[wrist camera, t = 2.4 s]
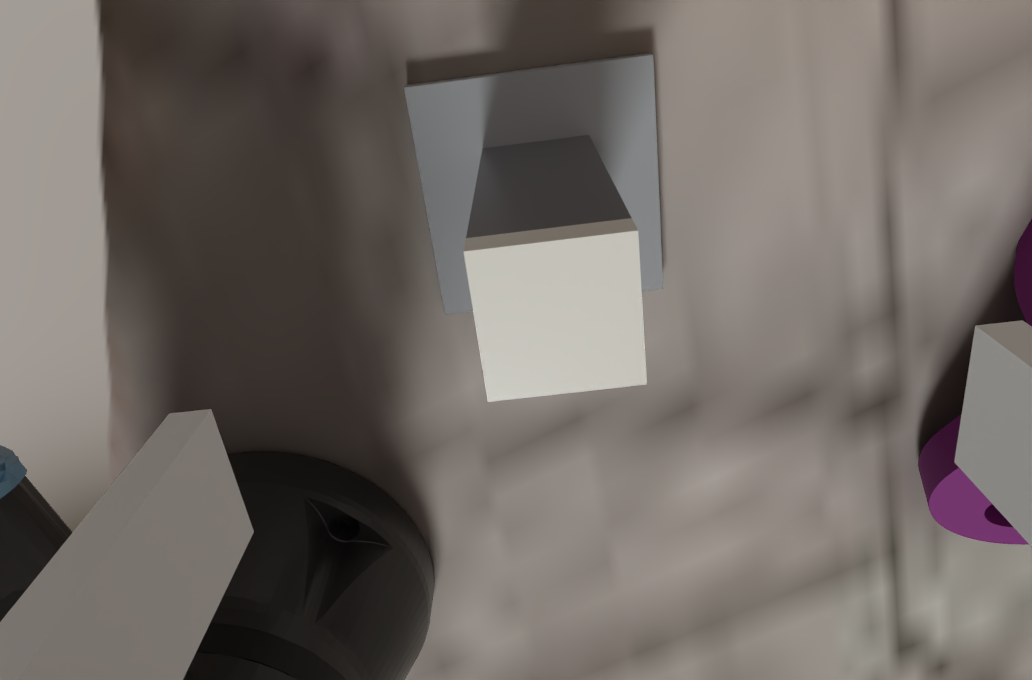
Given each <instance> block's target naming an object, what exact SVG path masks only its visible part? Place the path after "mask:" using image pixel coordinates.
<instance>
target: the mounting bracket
mask: <svg viewBox="0 0 1032 680" xmlns="http://www.w3.org/2000/svg"><path fill="white" fill-rule="evenodd" d="M1014 285H1015V292H1016V296H1017V300H1018V303H1019V305H1020V308H1021V310H1022V313H1023V315H1024V317H1025V320H1026V322H1027V324H1029V325H1030V326H1032V219H1031V221H1030V223H1029V224H1028V226H1027V228H1026V229H1025V231H1024V233H1023V235H1022V236H1021V238H1020V240H1019V243H1018V247H1017V251H1016V257H1015V264H1014ZM961 415H962V414H961ZM961 415H960V416H958V417H957V418H956V419H954V420H953V421H952V422H950V423H949V424H948V425H946V426H945V427H943V428H942V429H941V430H940V431H938V432H937V433H936V434H935V435H934V436H933V437H932V438H931V439H930V440H929V441H928V442H927V443H926V445H925V446H924V447H923V449H922V451H921V453H920V456H919V461H918V467H919V472H920V475H921V479H922V483H923V487H924V491H925V494H926V498H927V502H928V506H929V510H930V512H931V515H932V516H933V518H934V519H935V520H936V521H937V522H938V523H939V524H940V525H941V526H943V527H944V528H946V529H947V530H949V531H951V532H953V533H956V534H958V535H961V536H964V537H968V538H971V539H976V540H980V541H986V542H993V543H1003V544H1028V542H1027V541H1026V540H1025V539H1024V538H1023V537H1022V536H1021V535H1020V534H1019V533H1018V531H1017V530H1016V529H1015V528H1014V527H1013V526H1012V525H1011V524H1010V523H1009V522H1008V521H1007V519H1006V518H1005V517H1004V516H1003V515H1002V514H1001V513H1000V512H999V511H998V510H997V508H996V507H995V506H994V505H993V504H992V503H991V502H990V501H989V500H988V499H987V498H986V496H985V495H984V494H983V493H982V492H981V491H980V490H979V489H978V488H977V487H976V485H975V484H974V483H973V482H972V481H971V480H970V479H969V478H968V477H967V476H966V475H965V473H964V472H963V471H962V470H961V469H960V468H959V467H958V466H957V465H956V464H955V462H954V460H955V454H956V447H957V441H958V434H959V428H960V421H961Z"/></svg>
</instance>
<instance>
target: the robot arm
mask: <svg viewBox="0 0 1032 680" xmlns="http://www.w3.org/2000/svg"><path fill="white" fill-rule="evenodd" d="M954 462H955V464H956V465H957V466H958V467H959V468H960V469H961V470H962V471H963V472H964V473H965V475H966V476H967V477H968V478H969V479H970V480H971V481H972V482H973V483H974V484H975V485H976V487H977V488H978V489H979V490H980V491H981V492H982V493H983V494H984V495H985V496H986V498H987V499H988V500H989V501H990V502H991V503H992V504H993V505H994V506H995V507H996V508H997V510H998V511H999V512H1000V513H1001V514H1002V515H1003V516H1004V517H1005V518H1006V519H1007V521H1008V522H1009V523H1010V524H1011V525H1012V526H1013V527H1014V528H1015V529H1016V530H1017V531H1018V533H1019V534H1020V535H1021V536H1022V537H1023V538H1024V539H1025V540H1026V541H1027V542H1028V544H1029V545H1030V546H1031V547H1032V326H1030V325H1029V324H1027V323H1026V322H1024V321H1023V320H1021V321H1012V322H1003V323H994V324H985V325H976V326H975V331H974V337H973V344H972V350H971V357H970V363H969V370H968V376H967V383H966V389H965V395H964V402H963V408H962V415H961V421H960V428H959V434H958V441H957V447H956V454H955V460H954ZM26 472H27V469H26V468H25V467H24V466H23V465H22V464H21V462H20V461H19V459H18V457H17V456H16V455H15V454H14V452H13V451H12V450H10V449H8V448H6V447H3V446H0V680H405V678H406V676H407V675H408V673H409V671H410V669H411V667H412V666H413V664H414V662H415V660H416V659H417V657H418V655H419V653H420V651H421V649H422V647H423V644H424V641H425V638H426V635H427V632H428V628H429V623H430V615H431V608H432V600H433V592H434V572H433V566H432V561H431V557H430V554H429V551H428V548H427V546H426V543H425V541H424V539H423V537H422V535H421V534H420V532H419V530H418V528H417V527H416V526H415V524H414V523H413V521H412V520H411V519H410V517H409V516H408V515H407V514H406V512H405V511H404V510H403V509H402V508H401V507H400V506H399V505H398V504H397V503H396V502H395V501H394V500H393V499H391V498H390V497H389V496H388V495H387V494H385V493H384V492H383V491H382V490H380V489H379V488H378V487H376V486H375V485H373V484H372V483H370V482H368V481H367V480H365V479H363V478H362V477H360V476H358V475H356V474H354V473H352V472H350V471H348V470H346V469H343V468H341V467H339V466H336V465H333V464H331V463H328V462H325V461H321V460H318V459H314V458H310V457H306V456H301V455H295V454H288V453H279V452H248V453H238V454H231V455H227V453H226V450H225V447H224V444H223V441H222V439H221V436H220V433H219V430H218V427H217V424H216V421H215V418H214V416H213V413H212V410H211V409H206V410H196V411H187V412H178V413H169V414H168V416H167V417H166V418H165V419H164V420H163V422H162V423H161V424H160V425H159V427H158V428H157V429H156V430H155V432H154V433H153V434H152V435H151V436H150V438H149V439H148V440H147V441H146V443H145V444H144V445H143V446H142V448H141V449H140V450H139V451H138V453H137V454H136V455H135V456H134V457H133V459H132V460H131V461H130V462H129V464H128V465H127V466H126V467H125V469H124V470H123V471H122V472H121V474H120V475H119V476H118V477H117V478H116V480H115V481H114V482H113V483H112V485H111V486H110V487H109V488H108V490H107V491H106V492H105V493H104V495H103V496H102V497H101V498H100V500H99V501H98V502H97V503H96V504H95V506H94V507H93V508H92V509H91V511H90V512H89V513H88V514H87V516H86V517H85V518H84V519H83V520H82V522H81V523H80V524H79V525H78V527H77V528H76V529H75V530H74V532H72V531H71V529H70V528H69V527H68V526H67V525H66V524H65V523H64V521H63V520H62V519H61V518H60V516H59V515H58V514H57V513H56V512H55V511H54V509H53V508H52V507H51V506H50V505H49V503H48V502H47V501H46V500H45V499H44V497H43V496H42V495H41V494H40V493H39V492H38V490H37V489H36V488H35V487H34V486H33V485H32V483H31V482H30V481H29V480H28V479H27V477H26V476H25V475H26Z"/></svg>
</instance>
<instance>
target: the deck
mask: <svg viewBox="0 0 1032 680" xmlns="http://www.w3.org/2000/svg"><path fill="white" fill-rule="evenodd" d="M404 90H405V96H406V101H407V107H408V112H409V118H410V123H411V129H412V134H413V140H414V145H415V151H416V157H417V162H418V168H419V173H420V179H421V184H422V190H423V195H424V201H425V206H426V212H427V218H428V223H429V229H430V234H431V240H432V245H433V251H434V256H435V262H436V267H437V273H438V279H439V284H440V290H441V295H442V301H443V306H444V312H445V314H452V313H461V312H469V311H473V307H472V301H471V295H470V289H469V283H468V276H467V270H466V264H465V258H464V246H465V241H466V235H467V230H468V224H469V219H470V213H471V208H472V202H473V197H474V192H475V186H476V181H477V175H478V170H479V164H480V159H481V153H482V148H490V147H498V146H506V145H514V144H521V143H529V142H537V141H545V140H553V139H561V138H568V137H576V136H584V135H589V136H590V138H591V140H592V142H593V144H594V146H595V148H596V150H597V151H598V153H599V155H600V157H601V159H602V161H603V163H604V165H605V167H606V169H607V171H608V173H609V175H610V177H611V179H612V181H613V183H614V184H615V186H616V188H617V190H618V192H619V194H620V196H621V198H622V200H623V202H624V204H625V206H626V208H627V210H628V212H629V214H630V216H631V217H632V219H633V221H634V223H635V225H636V227H637V229H638V236H639V254H640V271H641V289H642V291H649V290H658V289H663V271H662V248H661V224H660V201H659V178H658V154H657V131H656V107H655V84H654V61H653V54H651V53H645V54H638V55H630V56H622V57H615V58H607V59H600V60H592V61H585V62H577V63H570V64H562V65H554V66H547V67H539V68H532V69H524V70H517V71H509V72H502V73H494V74H486V75H479V76H471V77H464V78H456V79H449V80H441V81H434V82H426V83H418V84H411V85H406V86H405V87H404Z"/></svg>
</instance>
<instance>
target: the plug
mask: <svg viewBox="0 0 1032 680" xmlns="http://www.w3.org/2000/svg"><path fill="white" fill-rule="evenodd" d="M464 258H465V264H466V270H467V276H468V283H469V289H470V295H471V301H472V307H473V313H474V319H475V326H476V332H477V338H478V344H479V350H480V356H481V363H482V369H483V375H484V381H485V387H486V393H487V400H488V402H492V401H501V400H510V399H519V398H528V397H537V396H546V395H555V394H564V393H573V392H582V391H591V390H600V389H610V388H619V387H628V386H637V385H646V384H647V378H646V360H645V343H644V325H643V307H642V289H641V271H640V254H639V236H638V229H637V227H636V225H635V223H634V221H633V219H632V217H631V216H630V214H629V212H628V210H627V208H626V206H625V204H624V202H623V200H622V198H621V196H620V194H619V192H618V190H617V188H616V186H615V184H614V183H613V181H612V179H611V177H610V175H609V173H608V171H607V169H606V167H605V165H604V163H603V161H602V159H601V157H600V155H599V153H598V151H597V150H596V148H595V146H594V144H593V142H592V140H591V138H590V136H589V135H584V136H576V137H568V138H561V139H553V140H545V141H537V142H529V143H521V144H514V145H506V146H498V147H490V148H482V153H481V159H480V164H479V170H478V175H477V181H476V186H475V192H474V197H473V202H472V208H471V213H470V219H469V224H468V230H467V235H466V241H465V246H464Z"/></svg>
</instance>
